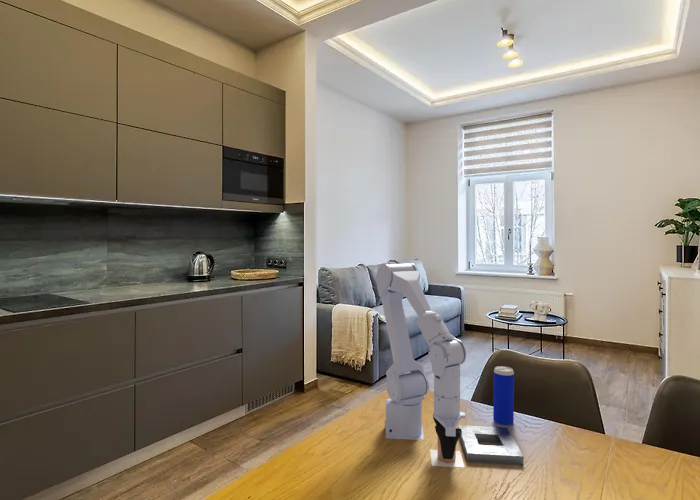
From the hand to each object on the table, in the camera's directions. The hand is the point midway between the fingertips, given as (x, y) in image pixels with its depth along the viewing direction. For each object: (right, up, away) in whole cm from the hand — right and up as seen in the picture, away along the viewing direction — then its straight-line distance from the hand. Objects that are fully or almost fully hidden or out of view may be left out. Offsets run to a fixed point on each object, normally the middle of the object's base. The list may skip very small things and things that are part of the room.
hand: (446, 452), depth 95 cm
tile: (0, -2, 0) cm, 2 cm away
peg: (0, -1, 0) cm, 1 cm away
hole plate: (+11, -2, +5) cm, 12 cm away
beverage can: (+20, -1, +19) cm, 27 cm away
